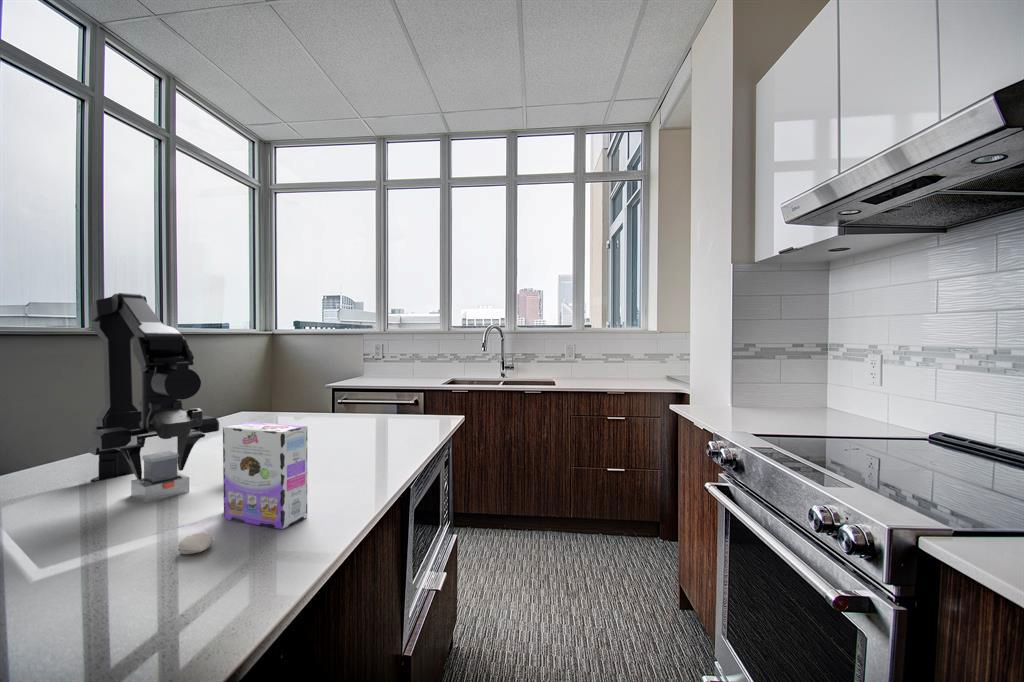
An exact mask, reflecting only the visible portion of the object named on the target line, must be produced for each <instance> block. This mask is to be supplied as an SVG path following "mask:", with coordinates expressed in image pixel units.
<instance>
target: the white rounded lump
mask: <svg viewBox="0 0 1024 682" xmlns="http://www.w3.org/2000/svg"><path fill="white" fill-rule="evenodd" d="M213 542H214V537H213V535H212V534H211V533H206V532H197V533H192V534H190V535H187V536H186V537H184V538H183V539H182V540H180V541H179V542H178V544H177V550H178V552H179V553H180V554H182V555H183V554H184V555H193V554H198V553H201V552H203V551H206V550H207V549H209V548H210V547H211V546H212V544H213Z"/></svg>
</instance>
